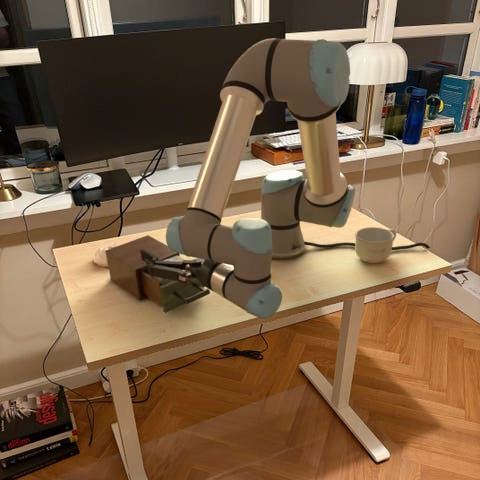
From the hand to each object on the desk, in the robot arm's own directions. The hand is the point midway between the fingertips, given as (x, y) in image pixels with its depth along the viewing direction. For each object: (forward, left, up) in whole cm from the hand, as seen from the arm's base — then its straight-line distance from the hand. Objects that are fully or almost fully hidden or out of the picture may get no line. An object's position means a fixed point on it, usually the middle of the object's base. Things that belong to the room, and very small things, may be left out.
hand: (165, 245), depth 120 cm
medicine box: (0, 0, -13) cm, 13 cm away
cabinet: (+9, -8, -15) cm, 19 cm away
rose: (+23, -19, -15) cm, 33 cm away
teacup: (-56, -27, -15) cm, 64 cm away
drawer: (-2, +2, -14) cm, 14 cm away
